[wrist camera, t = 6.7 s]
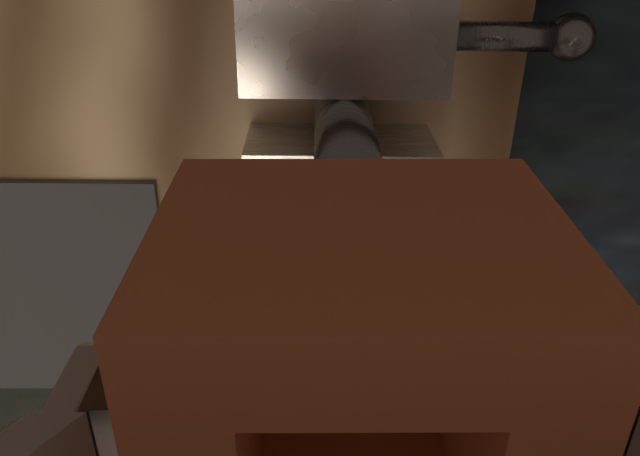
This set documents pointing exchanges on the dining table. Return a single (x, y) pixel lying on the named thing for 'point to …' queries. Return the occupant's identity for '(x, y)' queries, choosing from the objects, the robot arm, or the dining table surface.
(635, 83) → the dining table surface
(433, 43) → the vise
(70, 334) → the slate mat
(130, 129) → the oak board
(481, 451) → the collar
